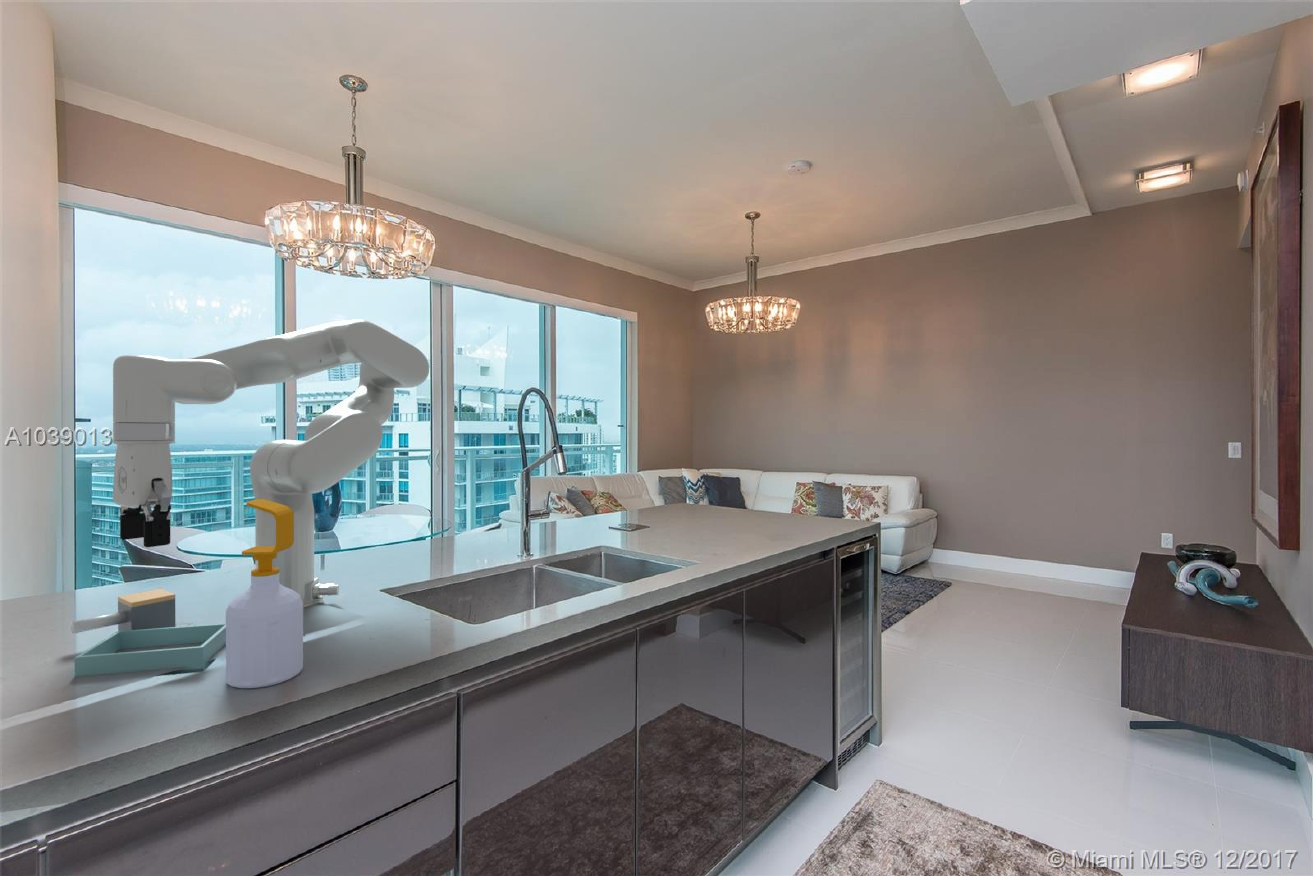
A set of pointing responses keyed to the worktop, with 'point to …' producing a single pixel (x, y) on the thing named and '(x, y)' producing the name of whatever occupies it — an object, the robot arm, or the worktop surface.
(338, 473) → the robot arm
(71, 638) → the worktop surface
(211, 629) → the bin
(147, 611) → the grey block with cylinder
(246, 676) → the soap bottle
